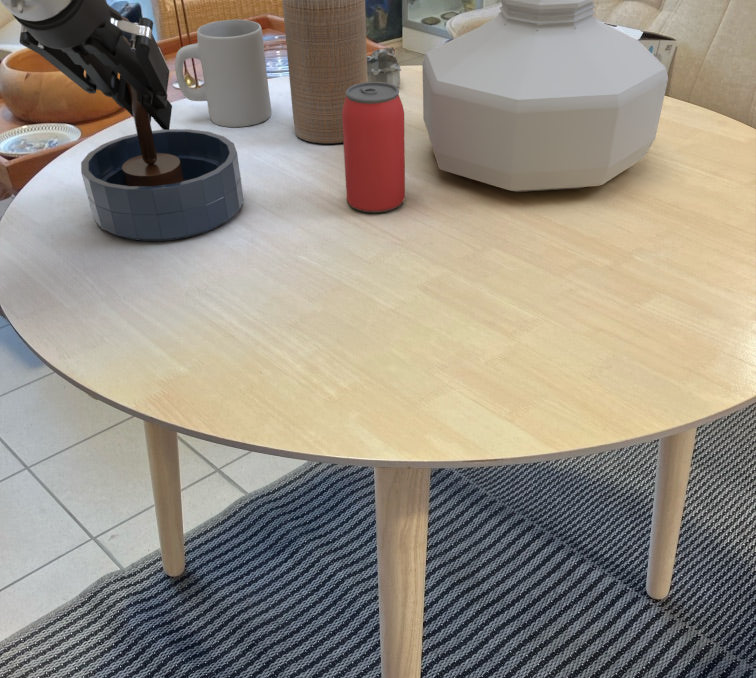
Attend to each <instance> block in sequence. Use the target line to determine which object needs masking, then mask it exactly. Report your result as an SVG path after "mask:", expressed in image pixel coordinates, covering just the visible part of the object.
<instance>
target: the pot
mask: <svg viewBox="0 0 756 678" xmlns="http://www.w3.org/2000/svg"><path fill="white" fill-rule="evenodd" d="M595 1H596V0H501V1H500V3H501V6H500V7H499V10H500V12H498V13H497V16H496V17H494V18H492V19H491V20H489V21H487V22H485V23H484V24H481V25H480V26H479V27H476V28H475V29H472V30H470V31H468V32H466V33H463V34H462V35H460V36H459V35H458V36H457V37H455V38H452V39H451V40H449V41H447V42H445V43H442V44H441V45H438V46H436V47H434V48H432V49H430V50H428V51H426V53H425V55H424V57H423V60H422V116H423V123H424V125H425V128H426V132H427V135H428V138H429V141H430V145H431V147H432V151H433V154H434V157H435V160H436V163H437V166H438V169H439V170H440V171H444V172H447V173H451V174H454V175H457V176H460V177H464V178H467V179H469V180H473V181H477V182H480V183H482V184H483V183H484V184H487V185H490V186H494V187H498V188H500V189H503V190H507V191H509V192H514V193H527V192H530V193H531V192H544V191H545V192H546V191H561V190H578V189H583V188H585V187H600V186H603V185H605V184H606V183H607V182H610V181H611V180H613V178H615V177H617V176H619V175H620V174H621V173H623V172H624V171H626V170H627V169H630V168H631V167H632V166H633V165H635V164H637V163H638V162H640V161H642V160H643V159H644V158H645V157H646V156H647V154H648V152H649V150H650V149H651V147H652V145H653V144H654V142H655V140H656V137H657V132H658V129H659V124H660V123H659V122H660V119H661V114H662V108H663V106H664V100H665V95H666V90H667V85H668V81H669V76H668V71H667V67H666V66H665V65H664V64H663V63H662V62H661V61H660V60H659V59H658V58H657V57H656V56H655V55H654V54H653V53H652V52H651V51H650V50H649V49H647V47H646V46H645V45H643V44H642V42H641V41H640V40H638V39H637V38H634V37H632V36H631V35H628V34H626V33H625V32H622V31H621V30H618V29H617V28H614V27H613V26H610V25H608V24H607V23H604V22H602V21H601V20H599V19H597V18H596V17H595V16H594V14H596V12H595V10H594V8H596V5H595V4H594V2H595Z"/></svg>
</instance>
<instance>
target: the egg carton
mask: <svg viewBox="0 0 756 678" xmlns="http://www.w3.org/2000/svg"><path fill="white" fill-rule="evenodd" d="M401 72H402V67H401V66H400V63H399V62H398V58H397V55H396V53H395V50H394V46H392V47H383V48H378V49H376V50H373V51H372V53H371V55H367V76H368V82H384V83H389V84H392V85H394V86H396V87H397V88H399V87H400V85H401Z"/></svg>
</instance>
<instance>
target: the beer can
mask: <svg viewBox="0 0 756 678" xmlns="http://www.w3.org/2000/svg"><path fill="white" fill-rule="evenodd" d="M399 94H400V89H399V87H396V86H394V85H392V84H389V83H384V82H365V83H359V84H356V85H353V86H351V87H349V88H348V89H347V90H346V98H345V101H344V105H343V110H342V124H343V141H344V143H343V156H344V157H343V158H344V159H343V160H344V173H345V175H344V176H345V192H346V193H345V195H346V201H347V203H348V204H349V205H350V206H351V207H352V208H353V209H355V210H357V211H359V212H363V213H370V214H377V213H385V212H390V211H392V210H394V209H397V208H398V207H400V206H401V205H402V204H403V202H404V200H405V197H406V167H405V166H406V165H405V164H406V163H405V162H406V160H405V159H406V157H405V156H406V155H405V153H406V151H405V147H406V146H405V110H404V105H403V102H402V100H401V97H400V95H399Z"/></svg>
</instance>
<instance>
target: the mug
mask: <svg viewBox="0 0 756 678" xmlns="http://www.w3.org/2000/svg"><path fill="white" fill-rule="evenodd" d="M196 38H197V42H195V43H192V44H191V43H190V44H188V45H184V46H182V47H181V48H180V49H178V51H177V52H176V55H175V62H174V70H175V78H176V82H177V84H178V87H179V90H180V92H181V93H182V95H183V97H185V98H186V99H187V100H189V101H193V102H207V108H208V109H207V110H208V115H209V116H208V117H209V119H210V122H212V123H213V124H215V125H218V126H219V127H227V128H244V127H251V126H255V125H258V124H262V123H264V122H265V121H268V119H269V118H270V117H271V115H272V104H271V97H270V89H269V88H270V87H269V82H268V81H269V80H268V72H267V64H266V63H267V61H266V54H265V45H264V35H263V29H262V26H261V24H260V23H258V22H257V21H253V20H248V19H224V20H216V21H212V22H208V23H206V24H203V25H201V26H199V28H197V30H196ZM188 59H196V60H198V61H200V64H201V71H202V76H203V85H201V87H198V88H197V87H196V88H191V87H189V85H187V82H186V80H185V77H184V64H185V62H186V61H187V60H188Z"/></svg>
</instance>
